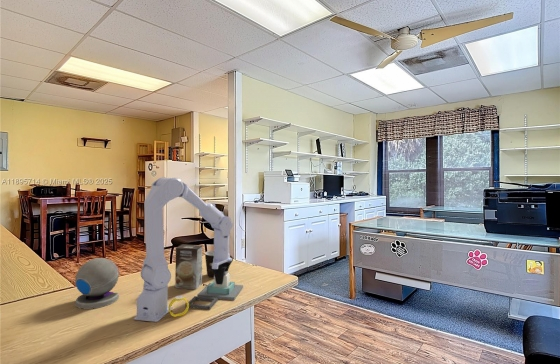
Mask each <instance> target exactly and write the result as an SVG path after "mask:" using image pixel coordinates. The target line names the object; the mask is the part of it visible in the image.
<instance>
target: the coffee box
mask: <svg viewBox="0 0 560 364" xmlns="http://www.w3.org/2000/svg"><path fill="white" fill-rule="evenodd" d="M174 271H175V274H174V276H175V278H174V279H175V280H174V281H175V282H174V288H175V289H184V290H185V289H188V290H197V289H198V288H199V287H200V286H201V285H202V283H203V245H198V244H186V243H185V244H183V243H182V244H180V245H178V246H177V247H176V248H175V269H174Z"/></svg>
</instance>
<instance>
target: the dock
mask: <svg viewBox="0 0 560 364" xmlns="http://www.w3.org/2000/svg"><path fill="white" fill-rule="evenodd" d="M243 289H244V285H243V284H236V282H235V281H230V286H229V287H228V288H223V287H214V280H213V281H212V282H209V283H208V284H207V285H205V287H204V288H202V289H201V291H200V292H198V293H197V294H196V296H199V297H212V298H218V300H225V301H226V300H227V301H235V300H236V298H237V297H238V295H239V294H240V293H241V292H242V290H243Z"/></svg>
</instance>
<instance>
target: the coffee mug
mask: <svg viewBox="0 0 560 364" xmlns="http://www.w3.org/2000/svg"><path fill="white" fill-rule="evenodd" d="M204 256H205V257H204V258H205V266H206V275H207V277H208V278H213V279H214V273H213V271H212V269H211V266H212V263H213V258H214V250H209V251H205V252H204ZM230 258H232V260H231V264H232V263H233V260H234V258H233V256H232V255H230Z"/></svg>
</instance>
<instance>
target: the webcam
mask: <svg viewBox="0 0 560 364" xmlns="http://www.w3.org/2000/svg"><path fill="white" fill-rule="evenodd" d="M119 275H120V271H119V267H118V266H117V264H116V263H115V262H114V261H112V260H111V259H109V258H104V257H95V258H92V259H89V260H88V261H86V262H85V263H83V264H82V265H81V266H80V267H79V268H78V271H77V273H76V275H75V279H74V281H75V282H74V283H75V287H76V289H77V290H78V292H79V293H81V295H79V296H78V297H77V298H76V299H75V307H76V306H77V307H79V308H78V309H81V308H84V309H83V310H93V308H94V309H99V308H102V307H107V306H108V305H109V306H110V305H111V304H114V303H116V302H117V301H118V300H119V299H120V294H119V292H113V291H111V290H113V288H115V287H116V285H117V284H118V281H119ZM77 307H76V308H77Z"/></svg>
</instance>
